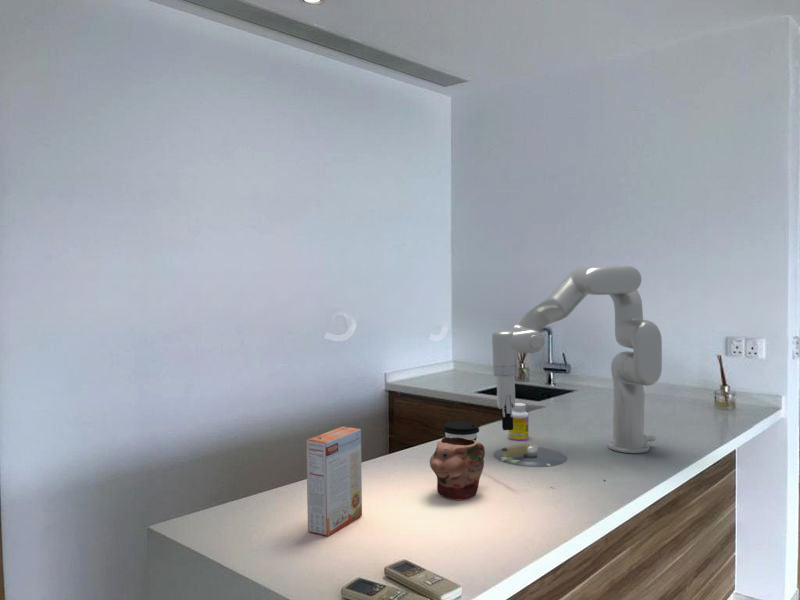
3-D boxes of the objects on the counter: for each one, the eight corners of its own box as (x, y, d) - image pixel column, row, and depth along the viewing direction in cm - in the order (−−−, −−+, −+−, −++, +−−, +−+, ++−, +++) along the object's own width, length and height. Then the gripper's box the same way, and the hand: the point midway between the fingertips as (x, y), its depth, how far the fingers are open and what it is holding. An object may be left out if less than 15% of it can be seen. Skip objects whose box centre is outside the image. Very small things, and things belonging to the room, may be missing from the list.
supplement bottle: (528, 444, 217) (528, 406, 216) (507, 443, 218) (508, 405, 217) (528, 439, 223) (528, 402, 223) (508, 438, 224) (509, 401, 224)
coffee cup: (482, 461, 197) (482, 422, 197) (474, 472, 187) (475, 430, 186) (447, 458, 201) (447, 419, 200) (438, 468, 191) (438, 427, 190)
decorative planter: (461, 478, 181) (462, 429, 180) (500, 487, 173) (500, 436, 173) (418, 497, 166) (418, 443, 165) (458, 509, 158) (458, 452, 157)
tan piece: (530, 452, 202) (530, 441, 202) (540, 455, 198) (540, 444, 198) (498, 458, 195) (498, 447, 195) (508, 462, 191) (508, 450, 191)
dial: (540, 447, 213) (540, 443, 213) (582, 466, 193) (582, 461, 193) (480, 454, 205) (480, 449, 205) (517, 474, 185) (517, 469, 185)
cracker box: (341, 511, 156) (341, 425, 155) (363, 516, 153) (363, 428, 152) (305, 532, 144) (304, 438, 143) (327, 537, 141) (327, 441, 140)
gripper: (491, 367, 208) (493, 423, 209) (495, 375, 193) (497, 436, 194) (515, 366, 208) (517, 423, 209) (520, 374, 193) (522, 435, 194)
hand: (507, 429), depth 201 cm, fingers closed
